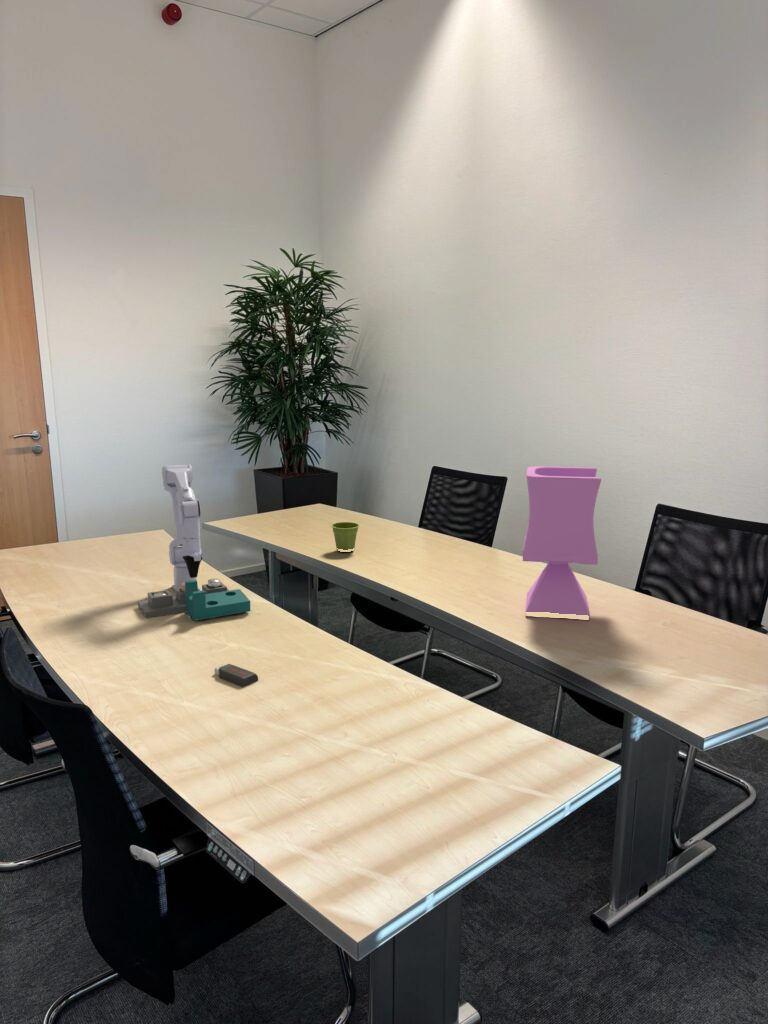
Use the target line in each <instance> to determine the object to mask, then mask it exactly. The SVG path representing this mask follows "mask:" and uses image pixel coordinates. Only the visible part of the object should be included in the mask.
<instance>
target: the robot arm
mask: <svg viewBox="0 0 768 1024" xmlns="http://www.w3.org/2000/svg"><path fill="white" fill-rule="evenodd" d="M161 473H162V482H163V483H162V484H163V488H164V490H165V491H166V492H168V493H169V494H170V496H171V503H172V512H173V519H174V527H175V536H176V537H175V538H174V539H173V540H172V541H171V542H170V543H169V545H168V549H169V550H168V553H169V561H170V564H171V565H172V566H173V584H172V585H171V587H172V589H174V590H175V589H177V588H181V584H182V583H185V581H192V580H197V578H198V575H199V569H200V565H201V562H202V561H203V557H202V556H201V554H202V547H201V529H200V527H201V526H200V525H201V524H200V518H201V516H202V515H201V514H202V509H201V507H202V506H201V503H200V500H199V499H197V498H196V496H195V492H194V490H193V488H192V487H191V486H192V484H193V480H194V479H193V478H194V473H193V466H192V465H191V464H190V463H188V464H175V465H163V466H162V468H161ZM198 589H199V590H200V591H201V588H200V586H198Z"/></svg>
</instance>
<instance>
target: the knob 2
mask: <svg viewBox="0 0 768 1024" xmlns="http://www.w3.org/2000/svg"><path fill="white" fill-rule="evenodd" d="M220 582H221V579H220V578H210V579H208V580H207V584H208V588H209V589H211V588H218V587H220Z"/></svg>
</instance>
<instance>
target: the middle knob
mask: <svg viewBox="0 0 768 1024" xmlns="http://www.w3.org/2000/svg"><path fill="white" fill-rule="evenodd" d="M181 592H182V593H185V583H182V584H181Z"/></svg>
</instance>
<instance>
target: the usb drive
mask: <svg viewBox="0 0 768 1024" xmlns="http://www.w3.org/2000/svg"><path fill="white" fill-rule="evenodd" d="M214 675H217V676H218V678H219V679H221V680H223V681H226V682H228V683H231V684H233V685H236V686H238V687H241V688H245V687H246V686H249V685H251V684H254V683H255V682H259V676H258V674H257V673H255V672H253V671H250V670H248V669H245V668H242V667H240V666H237V665H235V664H231V663H227V664H221V665H218V666H217V667H214Z"/></svg>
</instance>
